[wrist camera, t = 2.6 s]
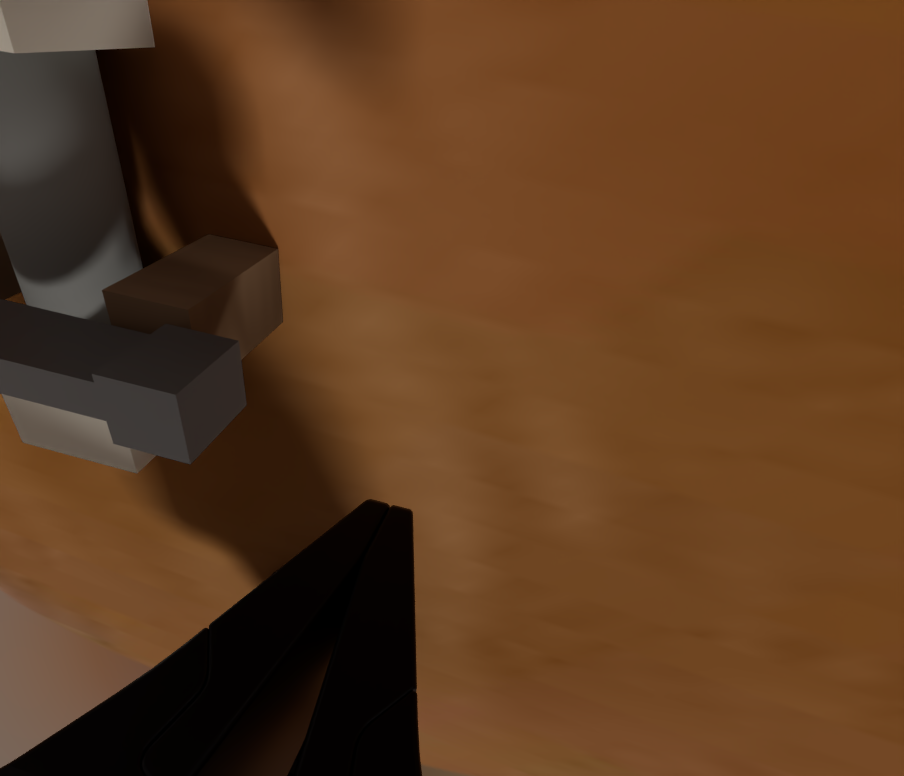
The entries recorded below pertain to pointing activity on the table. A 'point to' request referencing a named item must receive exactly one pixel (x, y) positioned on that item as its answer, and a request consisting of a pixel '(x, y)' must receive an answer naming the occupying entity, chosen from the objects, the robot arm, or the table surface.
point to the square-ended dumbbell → (65, 185)
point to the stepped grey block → (125, 377)
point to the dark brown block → (194, 291)
